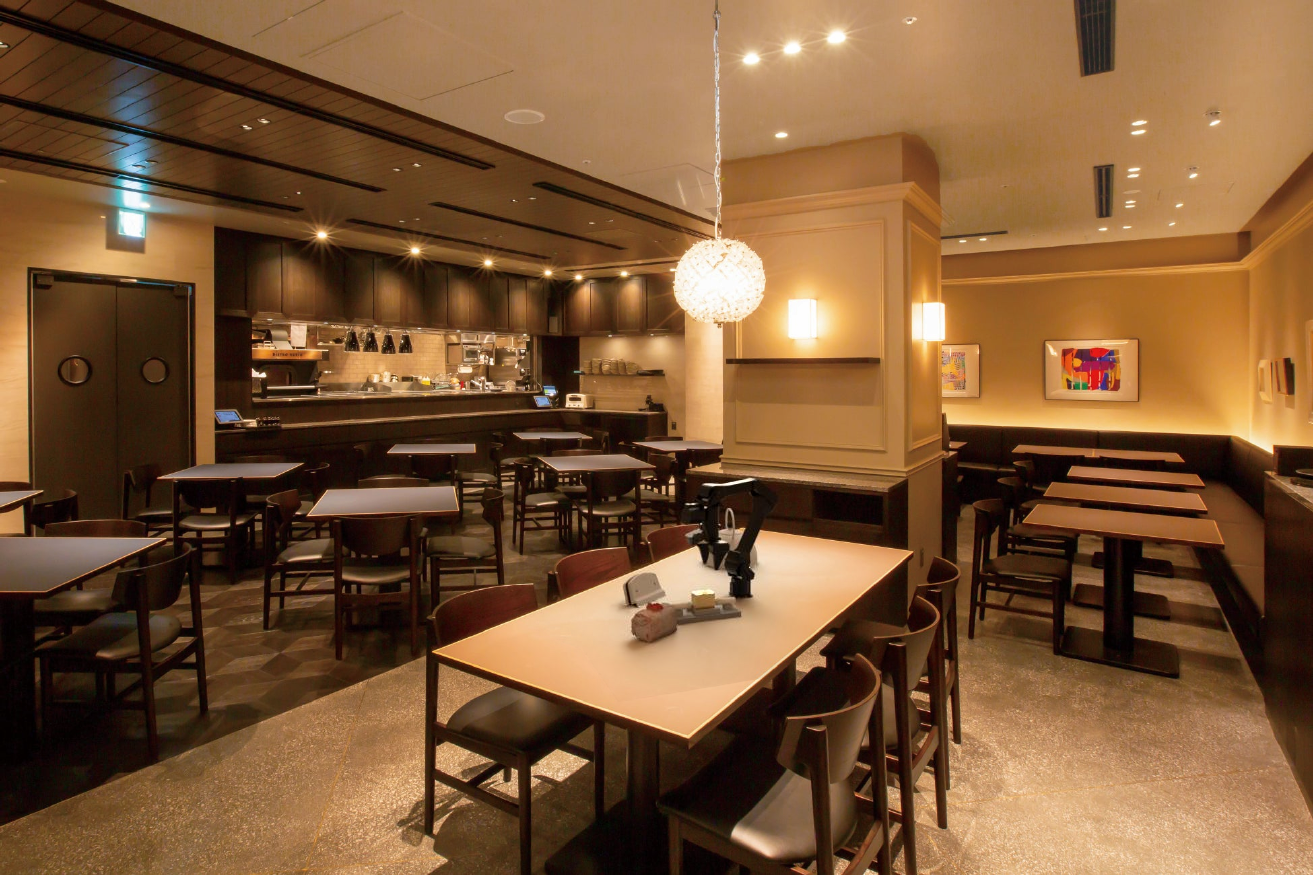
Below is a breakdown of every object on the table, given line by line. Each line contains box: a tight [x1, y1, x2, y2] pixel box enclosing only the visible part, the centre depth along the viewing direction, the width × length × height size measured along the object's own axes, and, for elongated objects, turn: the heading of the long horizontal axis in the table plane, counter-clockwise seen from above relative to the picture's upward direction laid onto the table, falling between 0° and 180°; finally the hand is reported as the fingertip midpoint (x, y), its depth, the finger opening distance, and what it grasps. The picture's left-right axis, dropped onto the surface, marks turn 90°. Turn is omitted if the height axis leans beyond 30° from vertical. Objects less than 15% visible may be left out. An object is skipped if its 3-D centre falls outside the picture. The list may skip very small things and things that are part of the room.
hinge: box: [622, 572, 666, 607], centre depth 241 cm, size 17×5×10 cm, turn 145°
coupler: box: [690, 589, 716, 612], centre depth 224 cm, size 6×4×6 cm, turn 110°
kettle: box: [704, 507, 759, 570], centre depth 291 cm, size 25×23×22 cm
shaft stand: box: [671, 596, 742, 625], centre depth 224 cm, size 22×10×5 cm, turn 110°
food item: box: [630, 602, 678, 644], centre depth 206 cm, size 14×8×10 cm, turn 140°
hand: (710, 567), depth 237 cm, fingers open, 9 cm apart
